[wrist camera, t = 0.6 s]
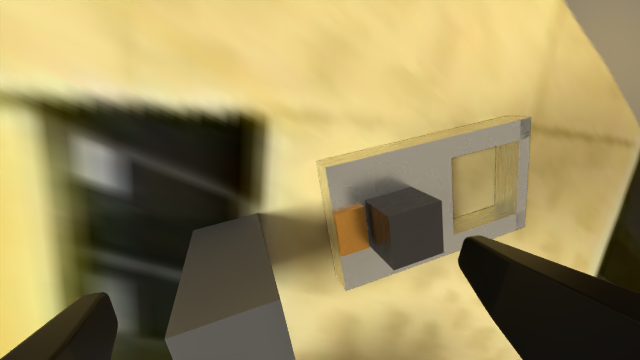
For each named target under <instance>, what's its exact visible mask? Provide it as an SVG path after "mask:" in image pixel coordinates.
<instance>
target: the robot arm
mask: <svg viewBox="0 0 640 360" xmlns="http://www.w3.org/2000/svg"><path fill="white" fill-rule="evenodd" d="M458 264H459V267H460V269H461V271H462V272H463V274H464V275H465V277H466V279H467V280H468V282H469V283H470V285H471V287H472V288H473V290H474V291H475V293H476V295H477V296H478V298H479V299H480V301H481V302H482V304H483V306H484V307H485V309H486V310H487V312H488V313H489V315H490V316H491V318H492V319H493V321H494V322H495V323H496V325H497V326H498V327H499V329H500V330H501V331H502V333H503V334H504V335H505V337H506V338H507V339H508V341H509V342H510V343H511V345H512V346H513V347H514V349H515V350H516V351H517V353H518V354H519V355H520V357H521V358H522V359H523V360H640V293H637V292H635V291H632V290H629V289H626V288H624V287H621V286H618V285H615V284H613V283H610V282H607V281H605V280H602V279H599V278H596V277H594V276H591V275H588V274H585V273H583V272H580V271H577V270H574V269H572V268H569V267H566V266H563V265H561V264H558V263H555V262H552V261H550V260H547V259H544V258H541V257H539V256H536V255H533V254H531V253H528V252H525V251H522V250H520V249H517V248H514V247H511V246H509V245H506V244H503V243H500V242H498V241H495V240H492V239H489V238H487V237H484V236H481V235H475V236H468V237H466V238H465V239H464V241H463V244H462V248H461V251H460V255H459V258H458ZM117 328H118V322H117V317H116V315H115V312H114V309H113V306H112V303H111V300H110V298H109V296H108V294H107V293H104V292H101V293H95V294H88V295H84V296H81V297H80V298H78V299H77V300H76V301H75V302H73V303H72V304H71V305H69V306H68V307H67V308H66V309H64V310H63V311H62V312H60V313H59V314H58V315H56V316H55V317H54V318H53V319H51V320H50V321H49V322H47V323H46V324H45V325H44V326H42V327H41V328H40V329H38V330H37V331H36V332H35V333H33V334H32V335H31V336H29V337H28V338H27V339H26V340H24V341H23V342H22V343H20V344H19V345H18V346H17V347H15V348H14V349H13V350H11V351H10V352H9V353H7V354H6V355H5V356H4V357H2V358H1V359H0V360H111V355H112V351H113V347H114V342H115V338H116V334H117Z"/></svg>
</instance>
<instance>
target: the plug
mask: <svg viewBox="0 0 640 360" xmlns="http://www.w3.org/2000/svg"><path fill="white" fill-rule="evenodd" d="M165 341H166V344H167V346H168V348H169V351H170V353H171V356H172V358H173V360H295V356H294V352H293V348H292V344H291V340H290V336H289V332H288V328H287V324H286V320H285V316H284V312H283V308H282V304H281V301H280V297H279V293H278V289H277V286H276V282H275V278H274V274H273V271H272V267H271V263H270V259H269V256H268V252H267V248H266V244H265V241H264V237H263V233H262V230H261V226H260V222H259V218H258V215H257V213H256V214H253V215H249V216H245V217H242V218H238V219H234V220H230V221H227V222H223V223H219V224H216V225H212V226H208V227H204V228H201V229H197V230H193V234H192V237H191V241H190V245H189V249H188V253H187V256H186V260H185V264H184V268H183V272H182V275H181V279H180V283H179V287H178V291H177V294H176V298H175V302H174V306H173V310H172V313H171V317H170V321H169V325H168V329H167V332H166V336H165Z"/></svg>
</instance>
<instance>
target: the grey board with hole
mask: <svg viewBox="0 0 640 360" xmlns="http://www.w3.org/2000/svg"><path fill="white" fill-rule="evenodd" d="M530 129H531V117H520V116H504V117H500V118H496V119H491V120H487V121H483V122H479V123H475V124H470V125H466V126H462V127H458V128H454V129H449V130H445V131H441V132H437V133H433V134H428V135H424V136H420V137H416V138H412V139H407V140H403V141H399V142H395V143H391V144H386V145H382V146H378V147H374V148H370V149H366V150H361V151H357V152H353V153H349V154H345V155H340V156H336V157H332V158H328V159H324V160H319V161H316V165H317V170H318V176H319V182H320V187H321V193H322V199H323V205H324V210H325V216H326V222H327V227H328V233H329V239H330V245H331V250H332V256H333V262H334V267H335V273H336V276H337V278H338V279H339V281H340V283H341V284H342V286H343V287H344V289H345V291H347V290H350V289H353V288H356V287H359V286H361V285H364V284H367V283H370V282H373V281H375V280H378V279H381V278H384V277H387V276H389V275H392V274H395V273H398V272H401V271H403V270H406V269H409V268H412V267H414V266H417V265H420V264H423V263H426V262H428V261H431V260H434V259H437V258H440V257H442V256H445V255H448V254H451V253H454V252H456V251H459V250H461V248H462V244H463V241H464V239H465V238H466V237H468V236H475V235H481V236H484V237H487V238H489V239H493V238H496V237H498V236H501V235H504V234H507V233H509V232H512V231H515V230H518V229H521V228H523V227H525V218H526V200H527V183H528V165H529V147H530ZM495 146H496V182H495V206H492V207H489V208H486V209H483V210H480V211H477V212H473V213H470V214H467V215H464V216H461V217H458V218H455V219H453V197H452V161H451V158H454V157H458V156H462V155H465V154H469V153H473V152H477V151H480V150H484V149H488V148H492V147H495Z"/></svg>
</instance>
